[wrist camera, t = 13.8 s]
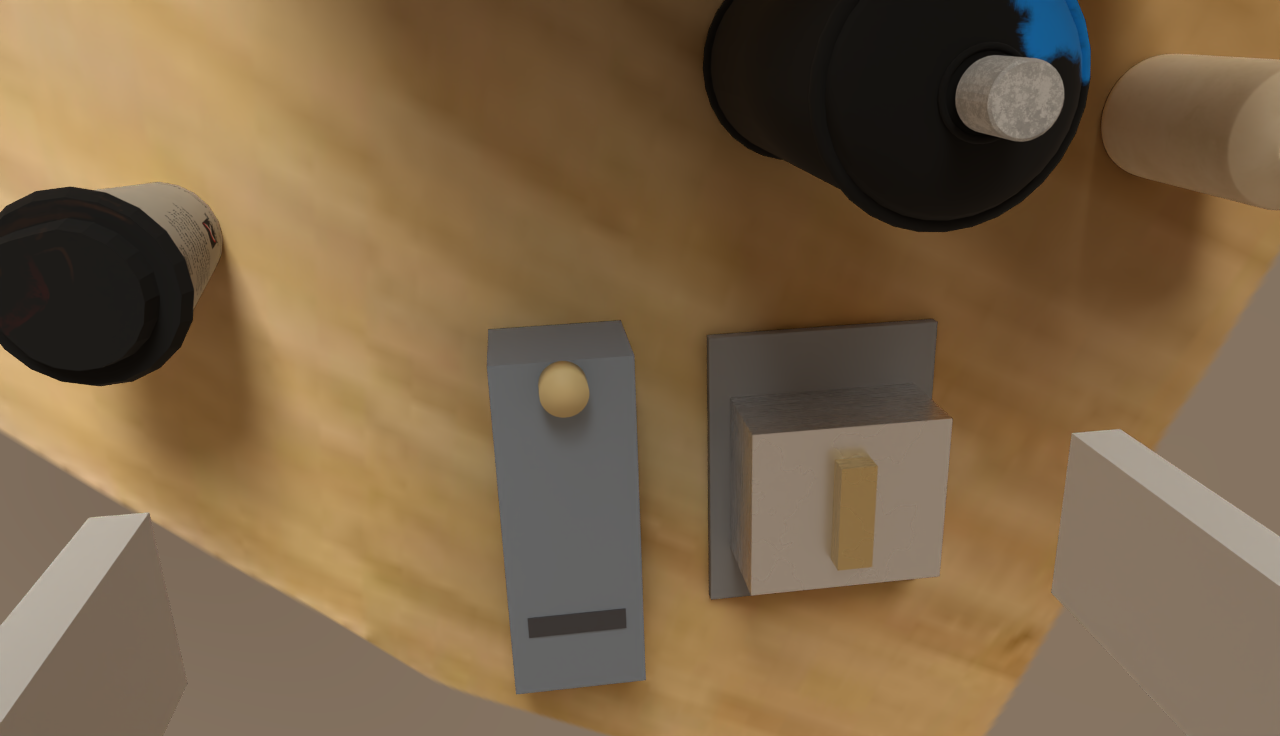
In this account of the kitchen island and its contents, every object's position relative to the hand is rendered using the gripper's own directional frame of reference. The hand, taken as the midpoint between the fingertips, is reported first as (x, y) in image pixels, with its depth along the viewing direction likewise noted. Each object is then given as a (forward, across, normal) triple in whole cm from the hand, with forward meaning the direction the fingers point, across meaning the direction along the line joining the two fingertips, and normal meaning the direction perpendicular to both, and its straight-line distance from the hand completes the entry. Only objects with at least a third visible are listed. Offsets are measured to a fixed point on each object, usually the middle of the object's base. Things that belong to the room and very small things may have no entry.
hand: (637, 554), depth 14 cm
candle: (+31, +28, +2) cm, 42 cm away
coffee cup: (+31, -16, -1) cm, 35 cm away
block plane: (+31, 0, -14) cm, 34 cm away
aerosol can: (+31, +11, +5) cm, 33 cm away
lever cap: (+30, +12, -14) cm, 36 cm away
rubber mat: (+31, +12, -14) cm, 36 cm away
